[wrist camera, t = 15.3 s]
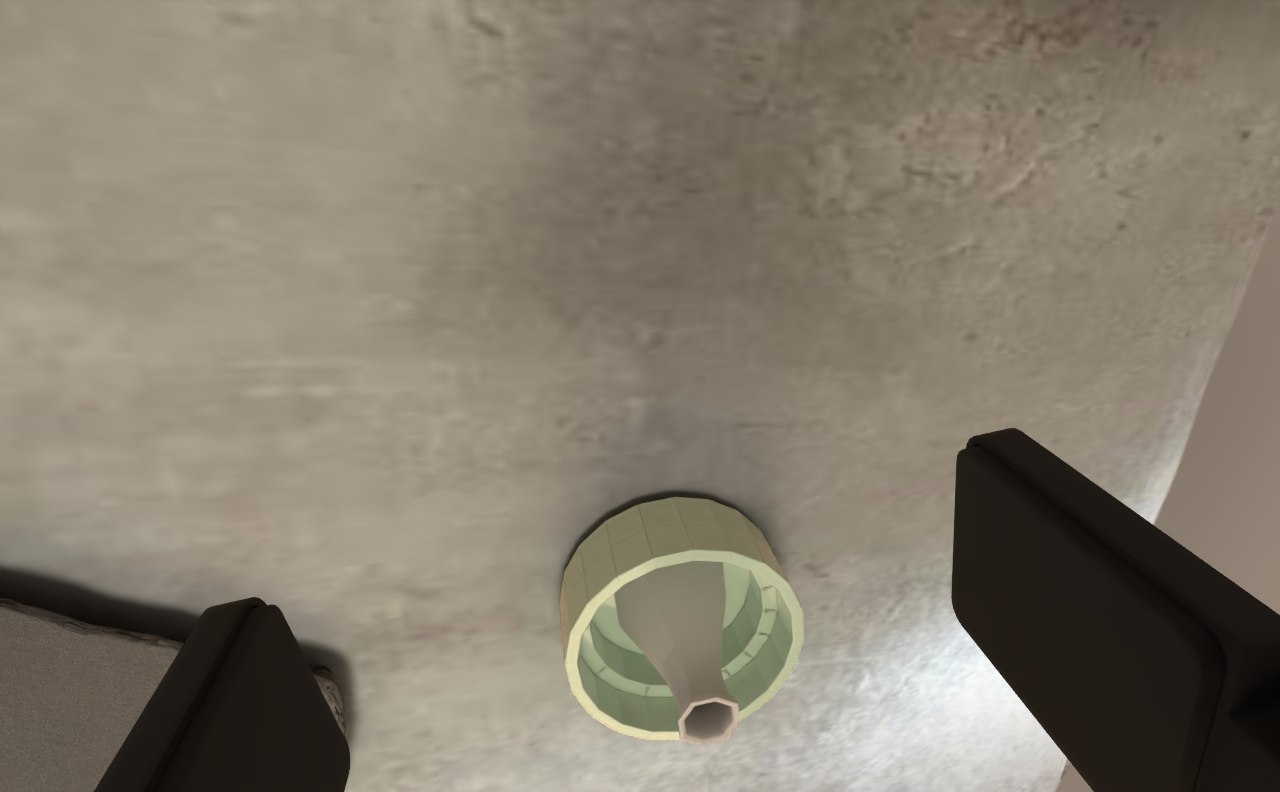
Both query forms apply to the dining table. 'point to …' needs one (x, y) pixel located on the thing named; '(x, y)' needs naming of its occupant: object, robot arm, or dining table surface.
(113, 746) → the serving tray
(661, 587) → the flask
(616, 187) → the dining table surface
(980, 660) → the dining table surface
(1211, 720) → the robot arm
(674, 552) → the basin
